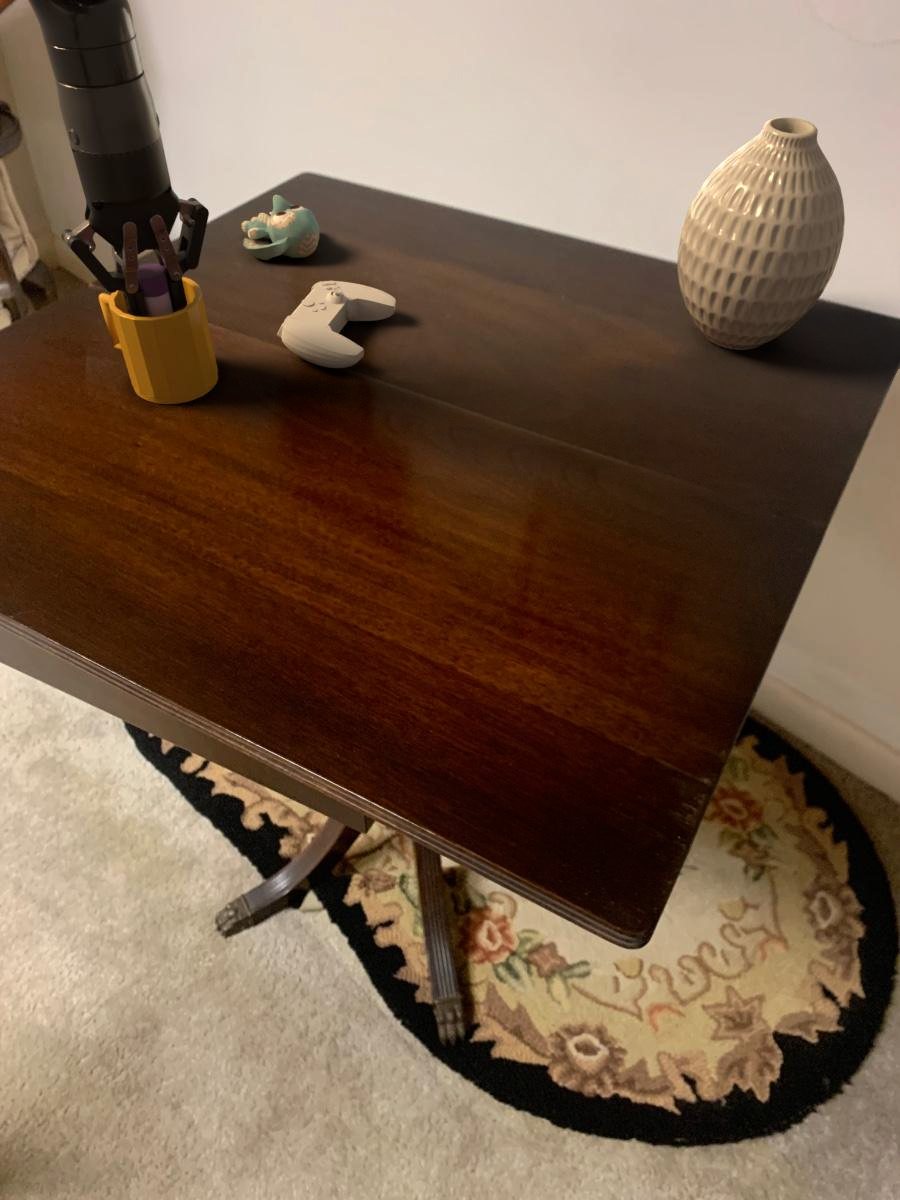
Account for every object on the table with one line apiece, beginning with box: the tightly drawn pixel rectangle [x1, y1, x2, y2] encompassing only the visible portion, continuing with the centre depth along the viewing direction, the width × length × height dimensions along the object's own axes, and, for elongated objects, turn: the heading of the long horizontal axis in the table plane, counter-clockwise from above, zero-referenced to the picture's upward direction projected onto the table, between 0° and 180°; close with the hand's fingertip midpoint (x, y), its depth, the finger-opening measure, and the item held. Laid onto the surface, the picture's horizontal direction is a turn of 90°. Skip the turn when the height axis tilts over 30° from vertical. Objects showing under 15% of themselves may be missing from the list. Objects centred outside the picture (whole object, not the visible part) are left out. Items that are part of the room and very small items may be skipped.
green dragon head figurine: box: [241, 194, 321, 261], centre depth 111 cm, size 11×7×12 cm
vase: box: [676, 116, 846, 351], centre depth 93 cm, size 16×16×22 cm
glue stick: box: [137, 262, 174, 317], centre depth 88 cm, size 3×3×10 cm
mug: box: [98, 276, 219, 405], centre depth 90 cm, size 12×9×10 cm
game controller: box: [276, 280, 397, 369], centre depth 98 cm, size 14×4×10 cm
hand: (159, 317), depth 88 cm, fingers closed on glue stick, 3 cm apart
